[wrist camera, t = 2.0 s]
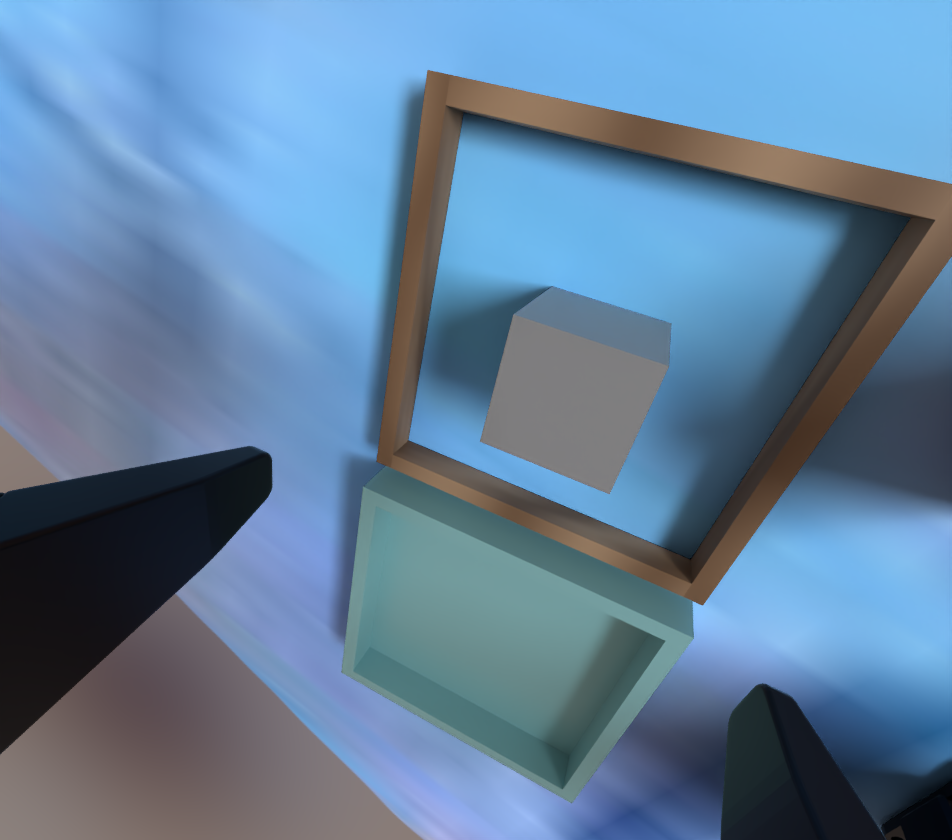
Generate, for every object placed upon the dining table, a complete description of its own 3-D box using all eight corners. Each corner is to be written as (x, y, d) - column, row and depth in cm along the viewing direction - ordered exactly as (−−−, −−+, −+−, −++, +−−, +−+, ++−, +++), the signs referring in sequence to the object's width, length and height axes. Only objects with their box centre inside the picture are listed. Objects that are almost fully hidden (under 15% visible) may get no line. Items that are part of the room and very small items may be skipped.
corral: (963, 193, 12) (996, 194, 11) (701, 579, 20) (702, 605, 19) (447, 79, 16) (427, 69, 15) (392, 447, 24) (376, 461, 22)
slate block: (671, 323, 17) (668, 366, 12) (624, 427, 19) (609, 494, 15) (552, 285, 18) (513, 314, 13) (522, 389, 20) (480, 441, 16)
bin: (692, 593, 21) (693, 638, 19) (579, 758, 29) (571, 803, 26) (390, 461, 24) (362, 486, 22) (363, 641, 32) (341, 672, 30)
